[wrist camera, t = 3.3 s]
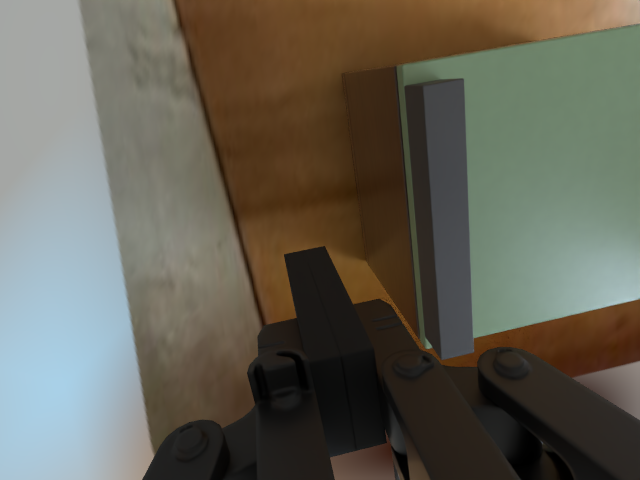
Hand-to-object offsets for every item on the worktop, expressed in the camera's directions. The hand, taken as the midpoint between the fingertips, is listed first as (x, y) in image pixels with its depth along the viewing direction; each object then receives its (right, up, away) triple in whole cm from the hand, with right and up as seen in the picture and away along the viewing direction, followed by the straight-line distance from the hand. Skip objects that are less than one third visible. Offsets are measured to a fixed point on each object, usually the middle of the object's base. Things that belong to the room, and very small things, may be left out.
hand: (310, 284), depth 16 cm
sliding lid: (+11, +4, +5) cm, 13 cm away
